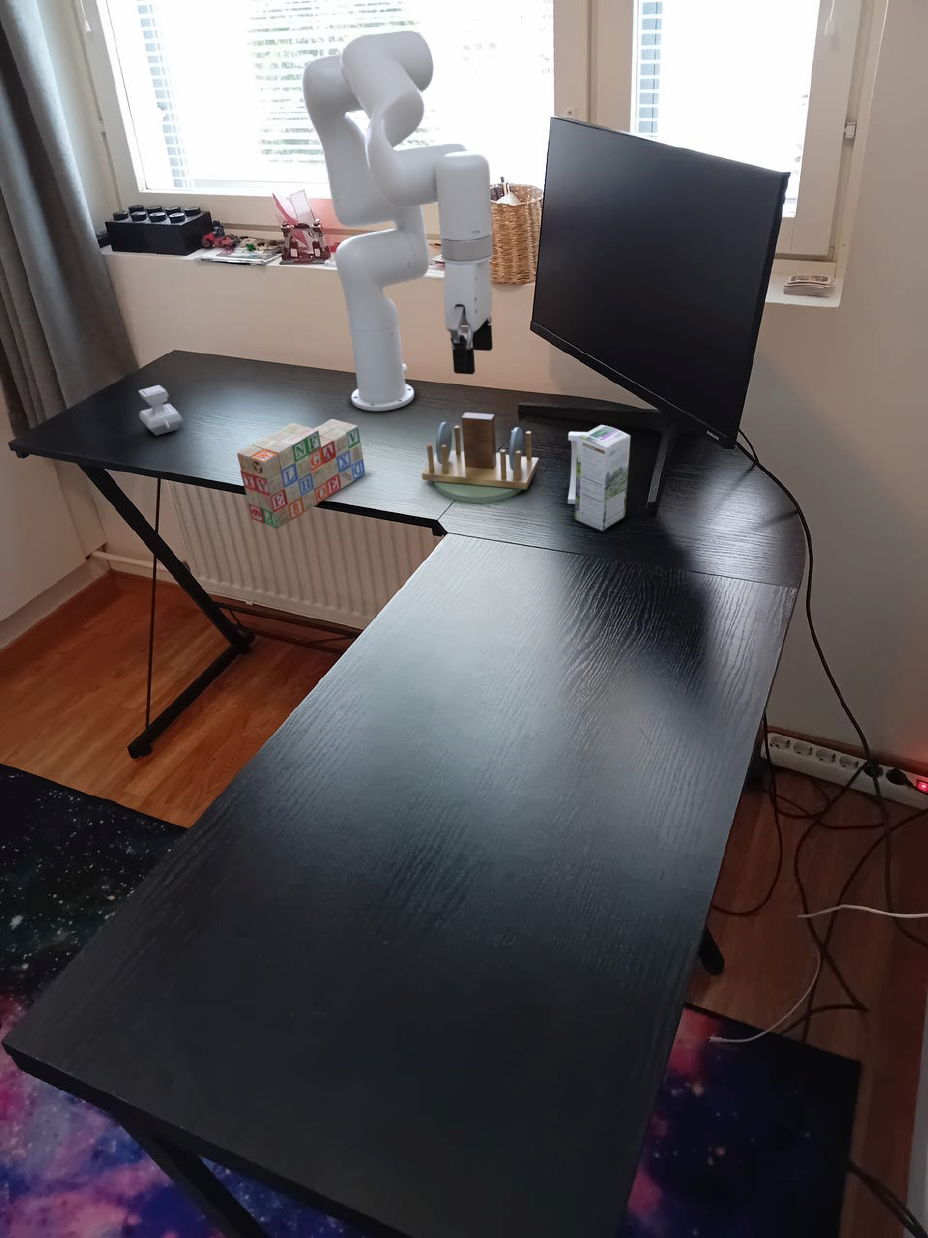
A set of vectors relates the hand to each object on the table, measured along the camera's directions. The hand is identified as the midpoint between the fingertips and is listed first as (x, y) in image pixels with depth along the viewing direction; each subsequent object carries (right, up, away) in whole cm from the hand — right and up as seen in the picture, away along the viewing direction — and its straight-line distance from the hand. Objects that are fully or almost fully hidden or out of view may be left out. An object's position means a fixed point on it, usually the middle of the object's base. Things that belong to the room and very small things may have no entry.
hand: (473, 361), depth 147 cm
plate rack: (+1, -15, +13) cm, 20 cm away
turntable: (+1, -16, +14) cm, 21 cm away
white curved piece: (+18, -20, +7) cm, 28 cm away
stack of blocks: (-28, -20, +13) cm, 36 cm away
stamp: (-60, -3, +38) cm, 71 cm away
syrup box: (+20, -25, +1) cm, 32 cm away
